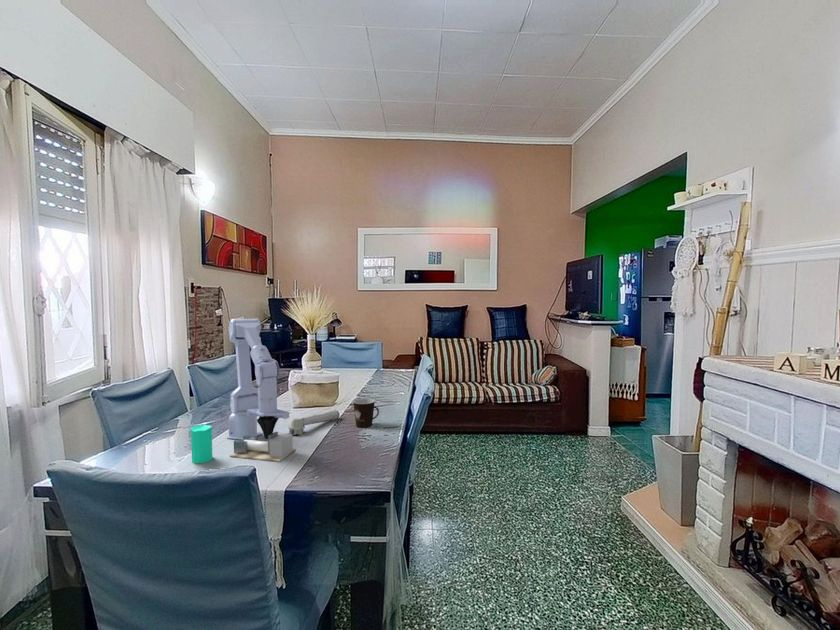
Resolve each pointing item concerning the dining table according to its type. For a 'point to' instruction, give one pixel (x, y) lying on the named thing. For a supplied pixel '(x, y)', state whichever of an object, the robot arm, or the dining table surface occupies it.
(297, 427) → the grey capped rod
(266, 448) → the tube
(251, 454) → the board
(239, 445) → the grey parallel plates
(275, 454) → the socket
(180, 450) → the dining table surface
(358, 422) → the coffee mug
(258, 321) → the robot arm
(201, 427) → the candle
